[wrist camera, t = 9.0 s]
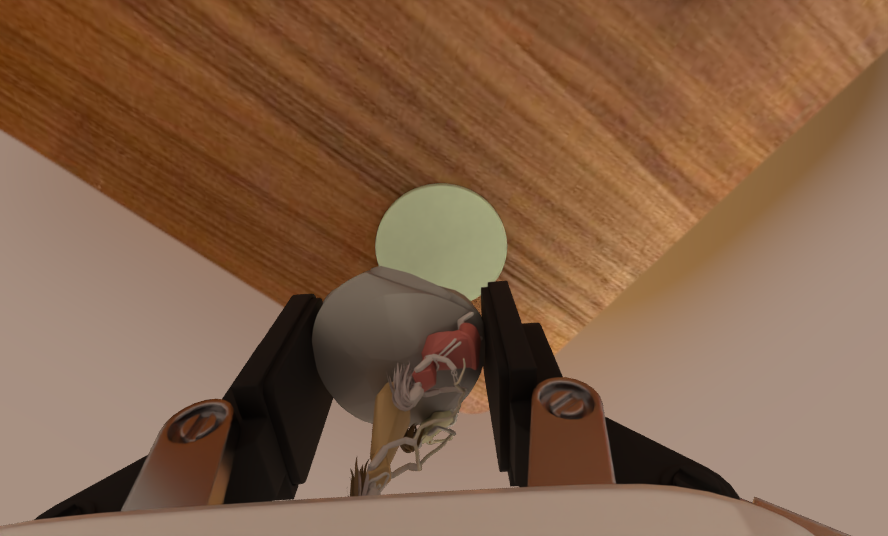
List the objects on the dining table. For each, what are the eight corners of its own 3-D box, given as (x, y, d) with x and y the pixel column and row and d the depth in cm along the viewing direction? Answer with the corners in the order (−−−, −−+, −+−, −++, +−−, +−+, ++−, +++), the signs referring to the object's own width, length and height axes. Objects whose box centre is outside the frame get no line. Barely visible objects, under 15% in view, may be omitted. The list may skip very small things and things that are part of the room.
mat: (384, 307, 29) (383, 311, 28) (368, 187, 25) (366, 189, 24) (505, 299, 28) (507, 304, 28) (506, 178, 25) (507, 180, 24)
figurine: (300, 284, 12) (185, 455, 7) (431, 213, 11) (426, 340, 6) (394, 405, 14) (367, 615, 8) (512, 353, 13) (566, 547, 8)
